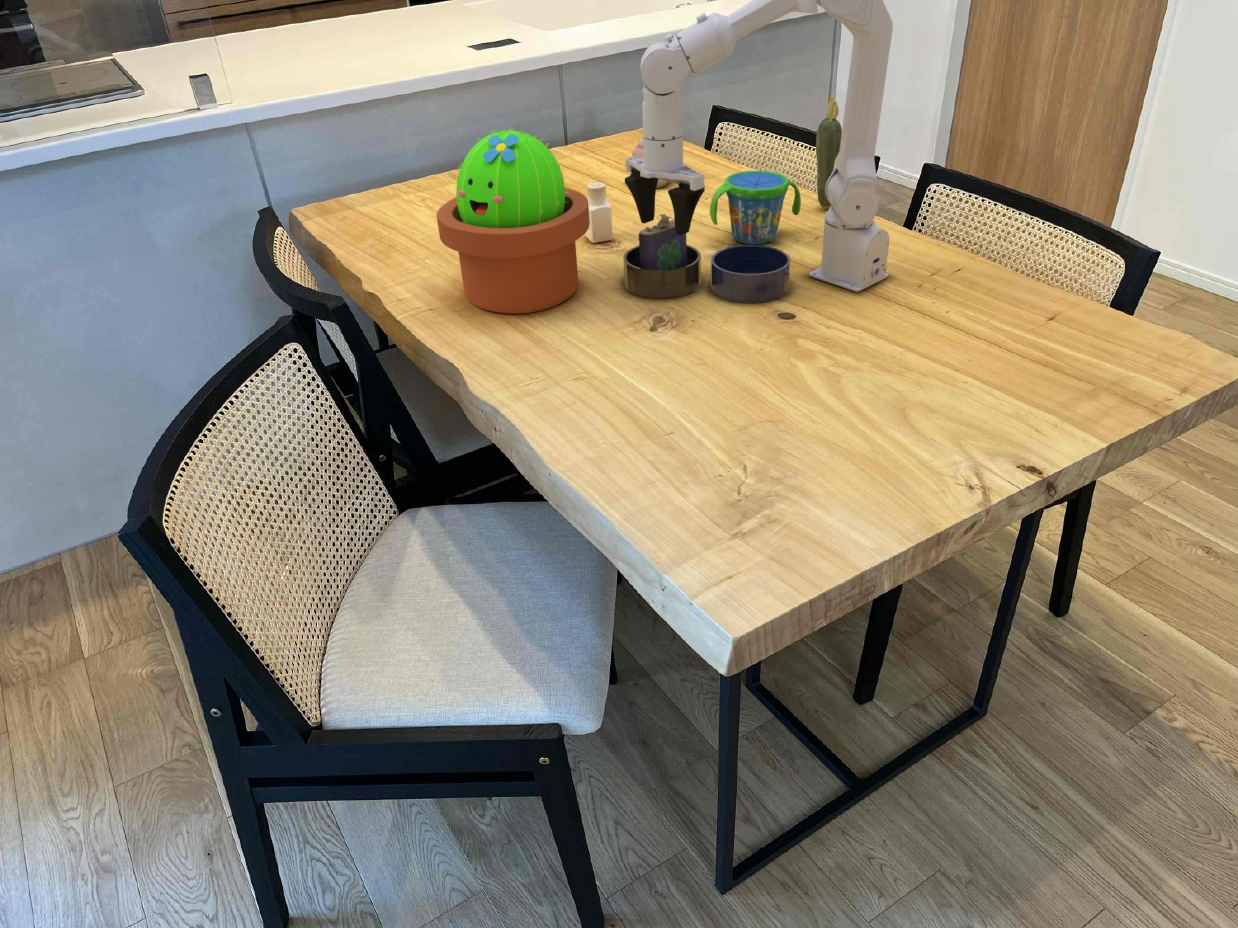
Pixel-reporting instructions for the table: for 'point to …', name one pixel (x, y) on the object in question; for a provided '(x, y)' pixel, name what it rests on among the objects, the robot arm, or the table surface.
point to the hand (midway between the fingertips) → (664, 227)
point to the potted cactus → (514, 225)
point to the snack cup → (755, 204)
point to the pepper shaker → (599, 214)
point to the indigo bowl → (750, 273)
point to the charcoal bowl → (662, 276)
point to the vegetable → (827, 149)
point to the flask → (662, 246)
